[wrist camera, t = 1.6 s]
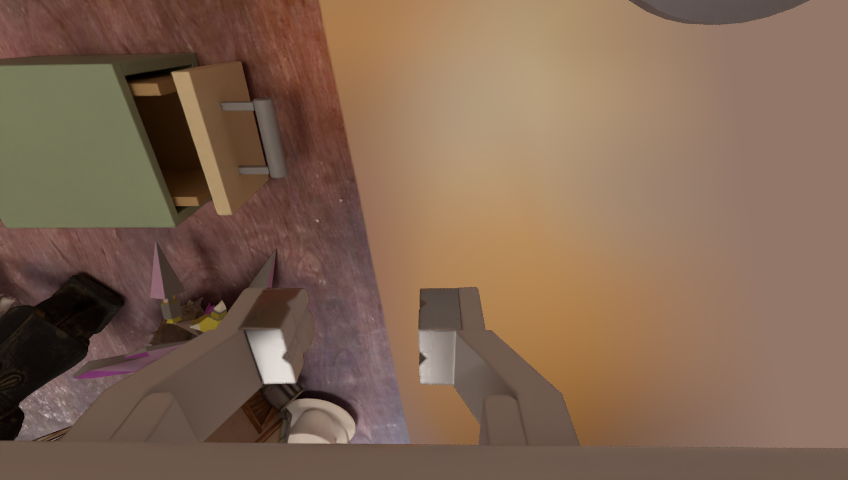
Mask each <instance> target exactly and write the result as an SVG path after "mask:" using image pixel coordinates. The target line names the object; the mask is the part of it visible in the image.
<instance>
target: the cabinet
mask: <svg viewBox="0 0 848 480" xmlns="http://www.w3.org/2000/svg"><path fill="white" fill-rule="evenodd" d="M194 67H199V66H198V62H197V59H196V55H195V54H194V53H179V54H120V55H61V56H32V57H18V58H6V59H0V219H1V221H2V222H3V224H4V225H5V227H6V228H126V227H176V226H178V225H179V224H180V223H182V222H183V221H184V220H186V219H187V218H188V217H189V216H191V215H192V214H193V213H194V212H196V211H197V210H198V209H199V208H201V207H202V206H203V205H204V204H206V203H207V202H208V201H210V200H211V199H212V196H211V197H210V198H209V199H208V200H206V201H205V202H204V203H202V204H201V205H200V206H174V203H173V201H172V198H171V195H170V193H169V190H168V188H167V185H166V182H165V180H164V177H163V175H162V172H161V169H160V167H159V164H158V162H157V159H156V156H155V154H154V151H153V149H152V146H151V143H150V141H149V138H148V136H147V133H146V130H145V128H144V125H143V123H142V120H141V117H140V115H139V112H138V110H137V107H136V105H135V102H134V99H133V97H132V94H131V92H130V89H129V86H128V84H127V81H126V79H125V76H127V75H133V74H139V73H145V72H173V71H178V70H183V69H189V68H194Z"/></svg>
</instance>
